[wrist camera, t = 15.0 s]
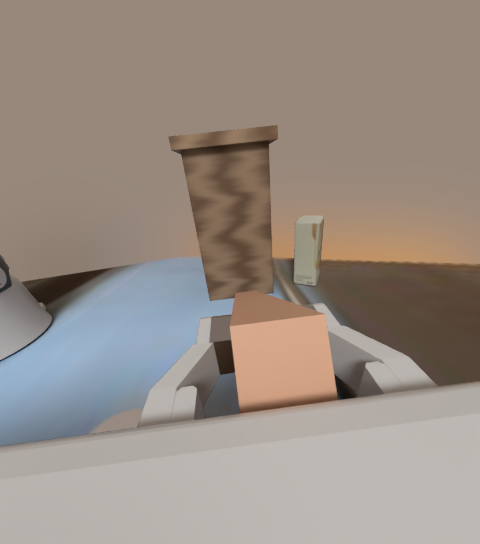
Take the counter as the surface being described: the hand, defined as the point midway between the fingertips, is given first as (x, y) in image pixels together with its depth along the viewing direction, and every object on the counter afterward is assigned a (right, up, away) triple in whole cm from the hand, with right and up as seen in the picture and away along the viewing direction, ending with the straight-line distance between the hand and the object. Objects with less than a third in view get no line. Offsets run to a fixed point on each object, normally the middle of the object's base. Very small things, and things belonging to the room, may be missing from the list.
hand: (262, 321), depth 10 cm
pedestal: (-1, 0, +34) cm, 34 cm away
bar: (0, -2, +6) cm, 7 cm away
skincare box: (+13, +1, +33) cm, 36 cm away
